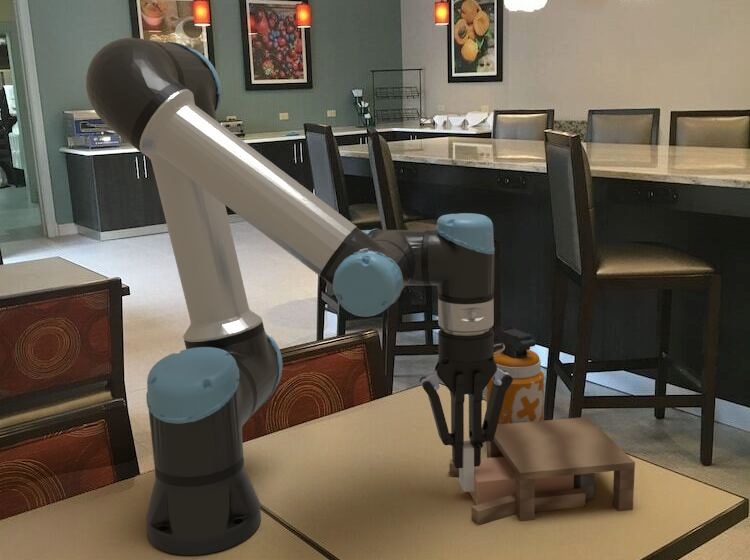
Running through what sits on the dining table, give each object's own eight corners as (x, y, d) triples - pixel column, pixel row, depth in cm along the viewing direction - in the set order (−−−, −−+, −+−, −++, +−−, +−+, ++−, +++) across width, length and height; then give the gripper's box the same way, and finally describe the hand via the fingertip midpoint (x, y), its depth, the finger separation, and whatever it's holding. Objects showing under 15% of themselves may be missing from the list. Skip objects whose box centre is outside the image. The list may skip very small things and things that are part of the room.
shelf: (474, 525, 105) (474, 477, 104) (447, 471, 121) (446, 428, 119) (632, 509, 108) (635, 462, 107) (586, 458, 124) (587, 416, 122)
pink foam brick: (477, 508, 110) (477, 481, 110) (464, 485, 117) (464, 460, 116) (573, 498, 112) (574, 472, 111) (555, 476, 119) (556, 451, 118)
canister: (506, 464, 123) (507, 341, 118) (469, 438, 132) (469, 323, 128) (553, 453, 126) (556, 332, 122) (514, 428, 136) (515, 316, 132)
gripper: (424, 339, 103) (427, 504, 108) (520, 332, 105) (518, 495, 110) (413, 323, 111) (416, 479, 116) (504, 317, 112) (503, 471, 117)
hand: (466, 486), depth 113 cm, fingers closed
